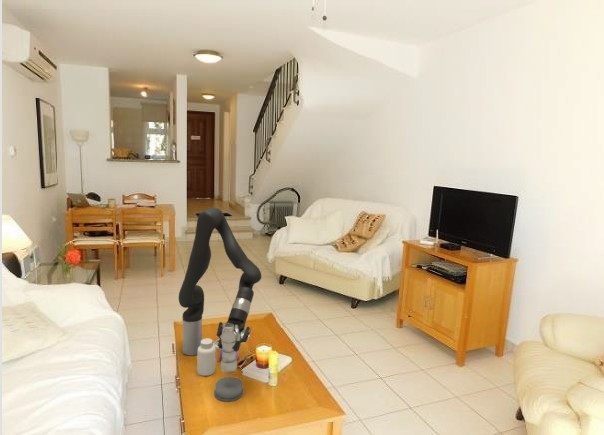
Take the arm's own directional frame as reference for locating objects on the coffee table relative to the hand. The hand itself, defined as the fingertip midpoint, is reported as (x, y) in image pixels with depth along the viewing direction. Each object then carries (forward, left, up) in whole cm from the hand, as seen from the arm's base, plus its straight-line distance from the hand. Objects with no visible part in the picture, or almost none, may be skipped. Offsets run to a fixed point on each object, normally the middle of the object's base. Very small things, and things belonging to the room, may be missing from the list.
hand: (227, 349), depth 168 cm
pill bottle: (-21, -1, -21) cm, 29 cm away
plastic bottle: (-1, +1, -11) cm, 11 cm away
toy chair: (-26, +12, -21) cm, 35 cm away
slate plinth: (-1, +1, -20) cm, 20 cm away
